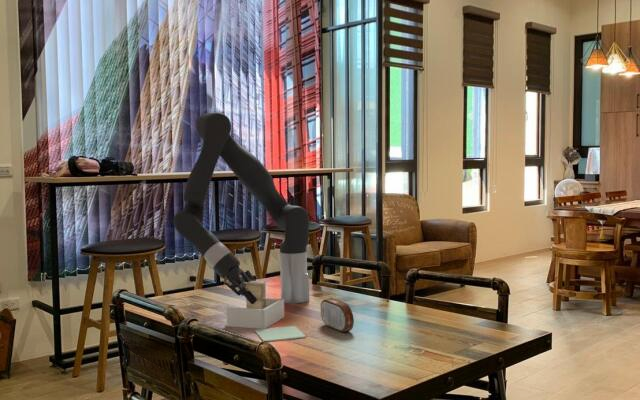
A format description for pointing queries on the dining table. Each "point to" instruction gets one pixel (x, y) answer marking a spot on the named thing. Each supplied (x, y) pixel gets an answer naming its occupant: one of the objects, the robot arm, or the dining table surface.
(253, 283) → the maple block
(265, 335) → the sage mat
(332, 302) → the tin
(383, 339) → the dining table surface
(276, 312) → the box
